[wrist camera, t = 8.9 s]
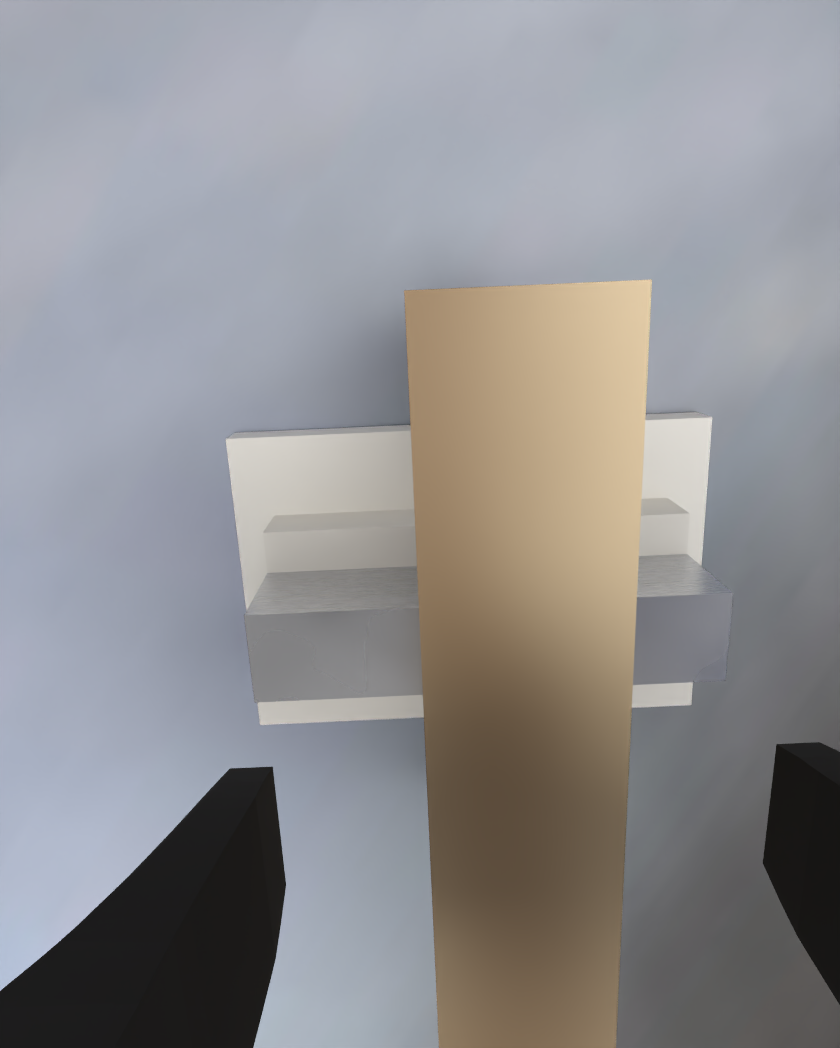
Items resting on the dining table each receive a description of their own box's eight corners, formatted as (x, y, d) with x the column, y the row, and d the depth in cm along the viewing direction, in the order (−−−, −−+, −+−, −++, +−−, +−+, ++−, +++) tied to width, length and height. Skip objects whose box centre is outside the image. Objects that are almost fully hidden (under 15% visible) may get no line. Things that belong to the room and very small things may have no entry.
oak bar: (560, 292, 13) (651, 279, 8) (552, 916, 17) (609, 1156, 12) (405, 300, 13) (404, 291, 8) (433, 921, 17) (444, 1165, 12)
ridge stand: (696, 412, 18) (797, 445, 14) (678, 686, 21) (759, 798, 16) (235, 433, 18) (174, 473, 14) (266, 706, 21) (224, 824, 16)
